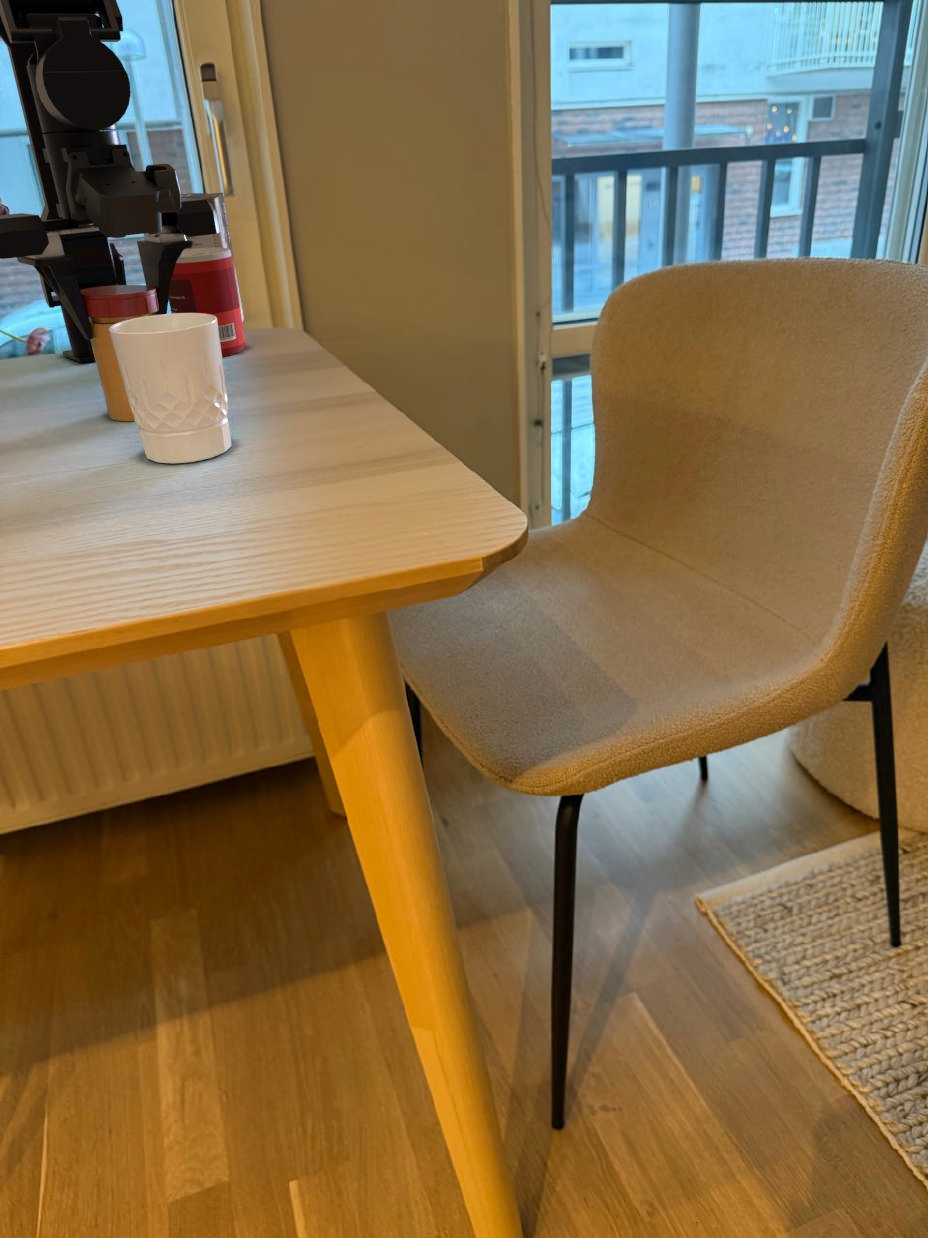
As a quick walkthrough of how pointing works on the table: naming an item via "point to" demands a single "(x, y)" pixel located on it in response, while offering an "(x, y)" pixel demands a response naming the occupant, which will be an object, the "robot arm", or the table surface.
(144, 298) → the lid
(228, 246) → the coffee box
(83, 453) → the table surface
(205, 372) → the white cup
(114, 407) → the jar
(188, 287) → the canned food
